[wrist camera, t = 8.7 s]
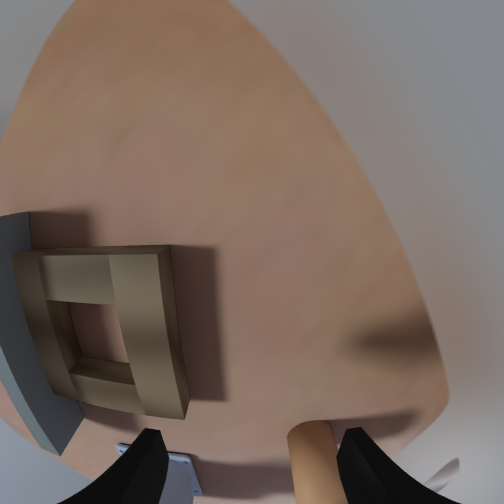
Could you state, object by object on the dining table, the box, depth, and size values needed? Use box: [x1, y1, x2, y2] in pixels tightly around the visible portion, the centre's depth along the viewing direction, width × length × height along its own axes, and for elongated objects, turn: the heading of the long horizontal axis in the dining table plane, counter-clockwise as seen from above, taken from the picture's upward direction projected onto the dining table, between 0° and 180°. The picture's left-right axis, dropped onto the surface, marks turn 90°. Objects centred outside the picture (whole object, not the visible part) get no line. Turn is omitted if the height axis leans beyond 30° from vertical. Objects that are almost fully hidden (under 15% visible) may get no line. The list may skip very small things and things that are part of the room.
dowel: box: [287, 421, 348, 504], centre depth 16 cm, size 4×4×8 cm
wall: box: [0, 212, 84, 456], centre depth 15 cm, size 20×2×6 cm, turn 1°
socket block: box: [12, 245, 190, 420], centre depth 17 cm, size 12×12×2 cm
